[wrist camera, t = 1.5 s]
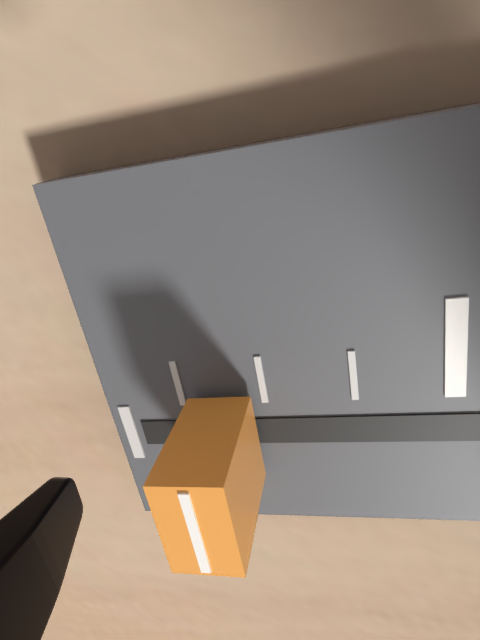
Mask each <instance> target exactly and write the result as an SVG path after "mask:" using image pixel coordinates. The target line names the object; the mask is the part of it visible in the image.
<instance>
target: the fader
mask: <svg viewBox="0 0 480 640" xmlns="http://www.w3.org/2000/svg"><path fill="white" fill-rule="evenodd" d="M265 476H266V472H265V467H264V462H263V457H262V452H261V446H260V441H259V436H258V431H257V426H256V421H255V416H254V411H253V406H252V400H251V396H247V397H219V398H191V399H187V401H186V403H185V405H184V407H183V409H182V410H181V412H180V414H179V416H178V418H177V420H176V422H175V424H174V426H173V428H172V430H171V432H170V434H169V436H168V438H167V440H166V442H165V444H164V446H163V448H162V450H161V452H160V453H159V455H158V457H157V459H156V461H155V463H154V465H153V467H152V469H151V471H150V473H149V475H148V477H147V479H146V481H145V483H144V485H143V489H144V492H145V495H146V498H147V501H148V504H149V507H150V510H151V512H152V515H153V518H154V521H155V524H156V527H157V530H158V533H159V536H160V539H161V542H162V545H163V548H164V551H165V554H166V556H167V559H168V562H169V565H170V568H171V571H172V573H184V574H199V575H214V576H229V577H244V578H246V573H247V568H248V563H249V558H250V553H251V548H252V542H253V537H254V532H255V527H256V522H257V517H258V512H259V507H260V501H261V496H262V491H263V486H264V481H265Z"/></svg>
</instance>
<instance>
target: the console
mask: <svg viewBox="0 0 480 640" xmlns="http://www.w3.org/2000/svg"><path fill="white" fill-rule="evenodd" d="M32 186H33V188H34V191H35V194H36V197H37V200H38V203H39V206H40V209H41V211H42V214H43V217H44V220H45V223H46V226H47V229H48V232H49V234H50V237H51V240H52V243H53V246H54V249H55V252H56V255H57V257H58V260H59V263H60V266H61V269H62V272H63V275H64V278H65V280H66V283H67V286H68V289H69V292H70V295H71V298H72V301H73V304H74V306H75V309H76V312H77V315H78V318H79V321H80V324H81V327H82V329H83V332H84V335H85V338H86V341H87V344H88V347H89V350H90V352H91V355H92V358H93V361H94V364H95V367H96V370H97V373H98V375H99V378H100V381H101V384H102V387H103V390H104V393H105V396H106V398H107V401H108V404H109V407H110V410H111V413H112V416H113V419H114V422H115V424H116V427H117V430H118V433H119V436H120V439H121V442H122V445H123V447H124V450H125V453H126V456H127V459H128V462H129V465H130V468H131V470H132V473H133V476H134V479H135V482H136V485H137V488H138V491H139V493H140V496H141V499H142V502H143V505H144V508H145V511H151V510H150V507H149V504H148V501H147V498H146V495H145V492H144V489H143V485H144V483H145V481H146V479H147V477H148V475H149V473H150V471H151V469H152V467H153V465H154V463H155V461H156V459H157V457H158V455H159V453H160V452H161V450H162V448H163V446H164V444H165V442H166V440H167V438H168V436H169V434H170V432H171V430H172V428H173V426H174V424H175V422H176V420H177V418H178V416H179V414H180V412H181V410H182V409H183V407H184V405H185V403H186V401H187V399H191V398H219V397H247V396H251V400H252V406H253V411H254V416H255V421H256V426H257V431H258V436H259V441H260V446H261V452H262V457H263V462H264V467H265V472H266V476H265V481H264V486H263V491H262V496H261V501H260V507H259V512H258V514H270V515H303V516H336V517H369V518H402V519H435V520H468V521H480V103H476V104H470V105H464V106H459V107H453V108H448V109H442V110H436V111H431V112H425V113H420V114H414V115H409V116H403V117H397V118H392V119H386V120H381V121H375V122H369V123H364V124H358V125H353V126H347V127H341V128H336V129H330V130H325V131H319V132H313V133H308V134H302V135H297V136H291V137H286V138H280V139H274V140H269V141H263V142H258V143H252V144H246V145H241V146H235V147H230V148H224V149H218V150H213V151H207V152H202V153H196V154H190V155H185V156H179V157H174V158H168V159H163V160H157V161H151V162H146V163H140V164H135V165H129V166H123V167H118V168H112V169H107V170H101V171H95V172H90V173H84V174H79V175H73V176H68V177H62V178H57V179H53V180H50V181H46V182H42V183H38V184H34V185H32Z"/></svg>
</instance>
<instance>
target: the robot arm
mask: <svg viewBox="0 0 480 640" xmlns="http://www.w3.org/2000/svg"><path fill="white" fill-rule="evenodd" d="M82 513H83V505H82V501H81V498H80V496H79V493H78V490H77V487H76V484H75V482H74V480H73V479H71V478H63V477H54V478H51V479H50V480H48V481H47V482H46V483H44V484H43V485H42V486H41V487H40V488H38V489H37V490H36V491H35V492H33V493H32V494H31V495H30V496H29V497H27V498H26V499H25V500H24V501H22V502H21V503H20V504H19V505H18V506H16V507H15V508H14V509H13V510H11V511H10V512H9V513H8V514H7V515H5V516H4V517H3V518H2V519H0V640H41V637H42V635H43V633H44V630H45V628H46V625H47V623H48V620H49V618H50V615H51V613H52V610H53V608H54V605H55V602H56V600H57V597H58V594H59V592H60V589H61V585H62V582H63V579H64V576H65V572H66V569H67V566H68V562H69V559H70V555H71V552H72V548H73V545H74V542H75V538H76V535H77V531H78V528H79V525H80V521H81V518H82Z"/></svg>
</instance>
